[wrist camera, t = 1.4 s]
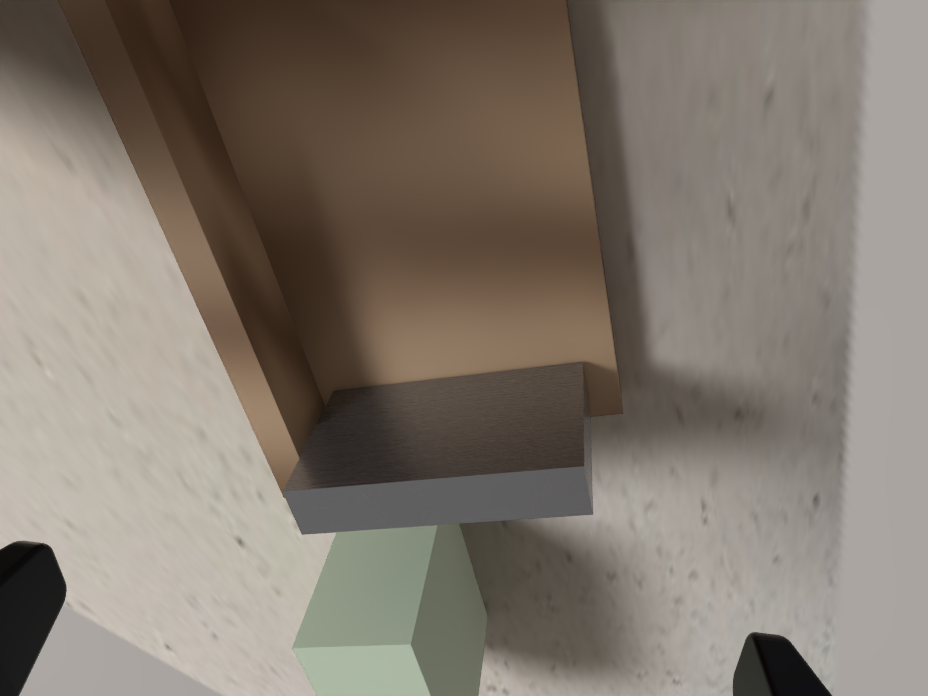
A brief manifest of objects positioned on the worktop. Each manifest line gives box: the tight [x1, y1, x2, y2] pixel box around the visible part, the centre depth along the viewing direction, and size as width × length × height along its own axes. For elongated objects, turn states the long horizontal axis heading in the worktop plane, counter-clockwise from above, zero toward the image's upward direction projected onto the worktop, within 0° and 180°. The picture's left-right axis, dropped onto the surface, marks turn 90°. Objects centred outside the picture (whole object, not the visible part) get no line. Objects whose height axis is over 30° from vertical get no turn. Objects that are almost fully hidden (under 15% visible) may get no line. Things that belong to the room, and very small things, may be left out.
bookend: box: [283, 362, 593, 535], centre depth 20 cm, size 2×8×4 cm, turn 103°
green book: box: [292, 524, 488, 696], centre depth 24 cm, size 4×7×6 cm, turn 13°
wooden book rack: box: [58, 0, 623, 498], centre depth 15 cm, size 24×10×6 cm, turn 13°
